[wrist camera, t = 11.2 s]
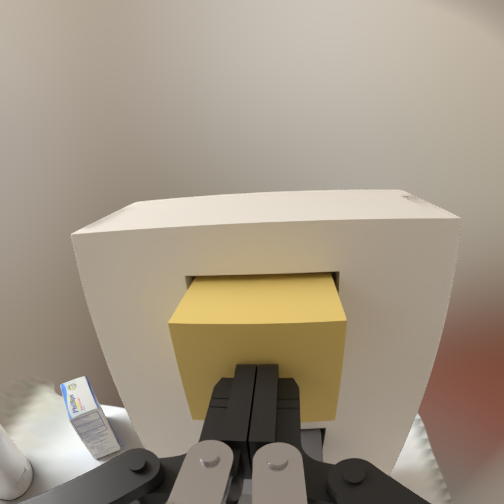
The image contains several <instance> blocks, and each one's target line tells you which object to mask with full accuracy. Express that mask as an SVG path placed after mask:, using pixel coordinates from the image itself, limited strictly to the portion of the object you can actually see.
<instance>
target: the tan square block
mask: <svg viewBox="0 0 504 504" xmlns="http://www.w3.org/2000/svg"><path fill="white" fill-rule="evenodd" d="M168 326H169V330H170V335H171V339H172V344H173V348H174V352H175V356H176V360H177V365H178V369H179V372H180V376H181V380H182V384H183V388H184V392H185V395H186V399H187V402H188V406H189V410H190V413H191V417H192V419H193V420H205V417H206V413H207V410H208V408H209V402H210V399H211V395H212V392H213V388H214V386H215V385H216V384H217V383H218V381H219V380H220V379H221V378H222V377H224V378H234V373H235V368H236V365H237V364H257V367H258V364H278V365H279V378H294V380H295V381H296V383H297V385H298V386H299V392H300V421H301V422H318V421H333V420H335V416H336V410H337V403H338V396H339V389H340V382H341V374H342V365H343V357H344V347H345V337H346V326H347V319H346V316H345V313H344V310H343V307H342V304H341V301H340V298H339V295H338V292H337V289H336V287H335V284H334V281H333V278H332V275H331V272H309V273H280V274H247V275H205V276H196V277H195V279H194V280H193V282H192V283H191V285H190V287H189V288H188V290H187V292H186V293H185V295H184V297H183V298H182V300H181V302H180V303H179V305H178V307H177V308H176V310H175V312H174V313H173V315H172V317H171V319H170V320H169V322H168Z"/></svg>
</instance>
